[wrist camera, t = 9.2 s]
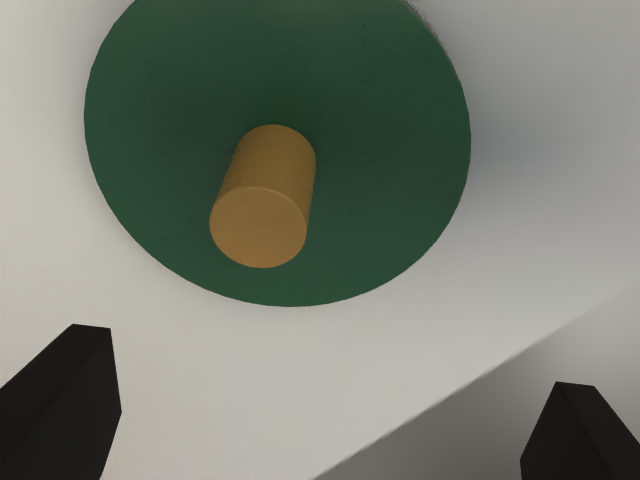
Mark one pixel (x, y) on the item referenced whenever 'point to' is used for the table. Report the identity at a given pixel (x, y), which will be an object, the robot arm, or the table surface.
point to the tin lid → (278, 142)
